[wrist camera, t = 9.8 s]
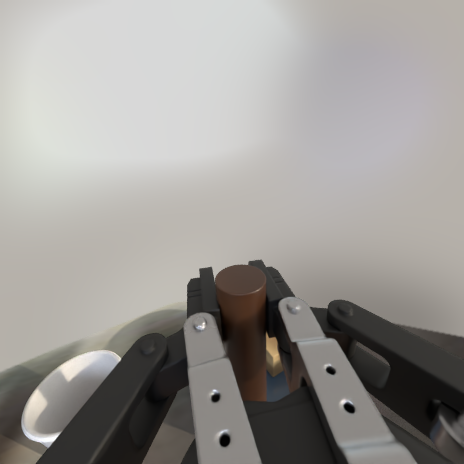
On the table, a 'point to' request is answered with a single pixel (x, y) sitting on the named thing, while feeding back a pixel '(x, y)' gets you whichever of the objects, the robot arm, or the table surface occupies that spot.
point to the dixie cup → (65, 394)
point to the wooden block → (272, 357)
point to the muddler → (244, 327)
